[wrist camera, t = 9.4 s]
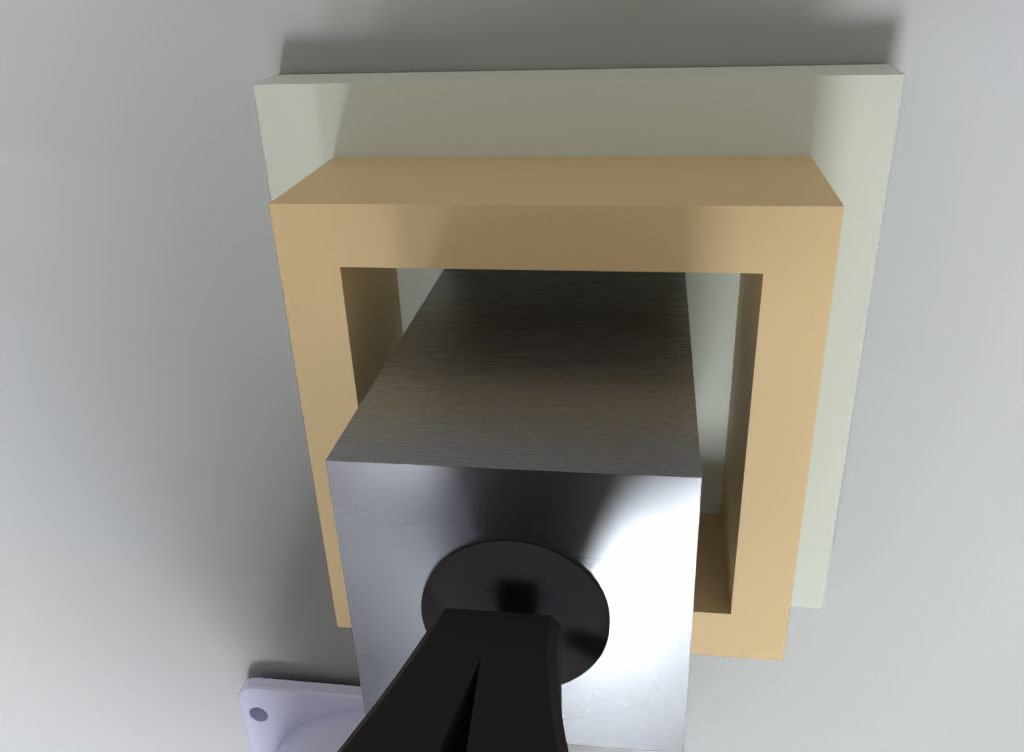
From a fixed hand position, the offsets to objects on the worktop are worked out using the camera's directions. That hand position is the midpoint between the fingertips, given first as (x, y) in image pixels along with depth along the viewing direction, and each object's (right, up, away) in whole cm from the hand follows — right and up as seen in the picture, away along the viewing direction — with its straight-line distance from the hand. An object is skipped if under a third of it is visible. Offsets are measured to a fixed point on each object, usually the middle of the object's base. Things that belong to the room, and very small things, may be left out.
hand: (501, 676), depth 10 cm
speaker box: (+1, +4, +7) cm, 8 cm away
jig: (+1, +4, +8) cm, 9 cm away
